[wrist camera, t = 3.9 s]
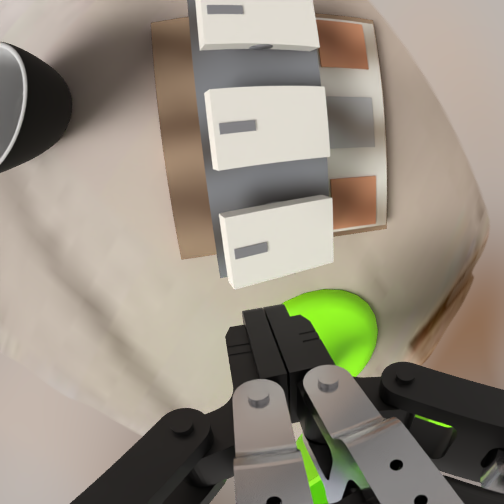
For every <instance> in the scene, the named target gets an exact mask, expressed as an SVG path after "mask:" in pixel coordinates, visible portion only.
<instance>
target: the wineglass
mask: <svg viewBox="0 0 504 504" xmlns="http://www.w3.org/2000/svg"><path fill="white" fill-rule="evenodd" d="M282 304H284V305H285V307H286V309H287V311H288V313H289V315H290V316H296V315H302V316H303V317H305V318H306V319H308V320H309V321H311V323H312V325H313V327H314V328H315V330H316V332H317V333H318V335H319V337H320V339H321V340H322V342H323V344H324V346H325V347H326V349H327V351H328V352H329V354H330V356H331V358H332V359H333V361H334V363H335V365H336V366H339V367H342V368H344V369H346V370H347V371H348V372H349V373H350V374H351V375H352V376H353V377H356V376H357V375H358V374H359V373H360V372H361V371H362V370H363V368H364V367H365V366H366V364H367V363H368V361H369V360H370V358H371V356H372V353H373V351H374V348H375V346H376V341H377V333H378V329H377V323H376V317H375V315H374V313H373V311H372V310H371V308H370V306H369V305H368V303H366V302H365V301H364V300H363V299H361V298H360V297H359V296H357V295H355V294H352V293H349V292H346V291H343V290H330V289H323V290H318V291H313V292H308V293H304V294H301V295H299V296H297V297H295V298H292V299H290V300H288V301H285V302H284V303H282ZM415 417H417V418H420V419H423V420H426V421H429V422H432V423H435V424H438V425H441V426H444V427H451V426H449V425H446V424H442V423H439V422H436V421H433V420H430V419H427V418H424V417H421V416H418V415H415ZM296 445H297V448H298V449H300V451H301V454H302V457H303V461H304V466H305V470H306V474H307V478H308V482H309V487H310V491H311V495H312V499H313V503H314V504H328V501H327V497H326V491H325V487H324V485H323V482H322V480H321V478H320V476H319V474H318V472H317V470H316V468H315V466H314V463H313V461H312V459H311V457H310V455H309V453H308V451H307V449H306V447H305V444H304V442H303V438H302V434H301V436H300V437H299V438H298V440H297V441H296Z"/></svg>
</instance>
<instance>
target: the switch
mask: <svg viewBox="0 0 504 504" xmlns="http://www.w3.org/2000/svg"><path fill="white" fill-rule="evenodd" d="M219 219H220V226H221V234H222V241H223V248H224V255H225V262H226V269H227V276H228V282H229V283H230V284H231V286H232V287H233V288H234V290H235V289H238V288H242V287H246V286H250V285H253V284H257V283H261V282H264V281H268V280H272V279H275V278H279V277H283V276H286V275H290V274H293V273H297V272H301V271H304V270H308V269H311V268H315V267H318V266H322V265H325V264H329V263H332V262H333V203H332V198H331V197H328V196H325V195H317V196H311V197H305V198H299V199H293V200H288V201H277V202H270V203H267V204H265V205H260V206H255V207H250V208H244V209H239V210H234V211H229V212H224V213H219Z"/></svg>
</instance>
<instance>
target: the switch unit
mask: <svg viewBox="0 0 504 504" xmlns="http://www.w3.org/2000/svg"><path fill="white" fill-rule="evenodd" d="M187 2H188V15H189V17H184V18H177V19H171V20H165V21H159V22H153V23H151V34H152V49H153V62H154V73H155V84H156V94H157V104H158V112H159V121H160V129H161V137H162V145H163V152H164V159H165V166H166V173H167V180H168V186H169V192H170V198H171V205H172V210H173V216H174V222H175V228H176V233H177V239H178V244H179V249H180V254H181V259H182V260H183V259H189V258H196V257H202V256H209V255H215V254H217V259H218V265H219V272H220V278H223V277H228V276H227V269H226V262H225V255H224V248H223V241H222V234H221V226H220V219H219V213H224V212H229V211H234V210H239V209H244V208H250V207H255V206H260V205H265V204H267V203H270V202H277V201H288V200H293V199H299V198H305V197H311V196H317V195H325V196H328V197H331V198H332V203H333V237H334V236H341V235H348V234H354V233H361V232H368V231H374V230H381V229H387V143H386V124H385V110H384V98H383V88H382V78H381V70H380V62H379V55H378V48H377V41H376V35H375V29H374V23H373V20H367V19H361V18H354V17H346V16H338V15H328V14H317V13H315V18H316V24H317V31H318V38H319V45H320V48H317V49H314V50H312V51H297V50H279V49H265V50H251V49H220V50H201V51H200V47H199V37H198V26H197V14H196V3H195V0H187ZM253 86H323V87H325V95H326V106H327V117H328V129H329V143H330V157H322V158H312V159H302V160H293V161H285V162H277V163H269V164H261V165H254V166H247V167H240V168H233V169H227V170H221V171H218V170H214V169H213V165H212V157H211V149H210V140H209V132H208V123H207V114H206V105H205V96H204V93H205V92H206V91H208V90H209V89H219V88H233V87H253Z"/></svg>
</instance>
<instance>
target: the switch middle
mask: <svg viewBox="0 0 504 504" xmlns="http://www.w3.org/2000/svg"><path fill="white" fill-rule="evenodd" d="M204 96H205V105H206V114H207V123H208V132H209V140H210V149H211V157H212V165H213V169H214V170H218V171H221V170H227V169H233V168H240V167H247V166H254V165H261V164H269V163H277V162H285V161H293V160H302V159H312V158H322V157H330V143H329V129H328V117H327V106H326V95H325V87H323V86H253V87H233V88H219V89H209V90H208V91H206V92H205V93H204Z"/></svg>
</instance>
